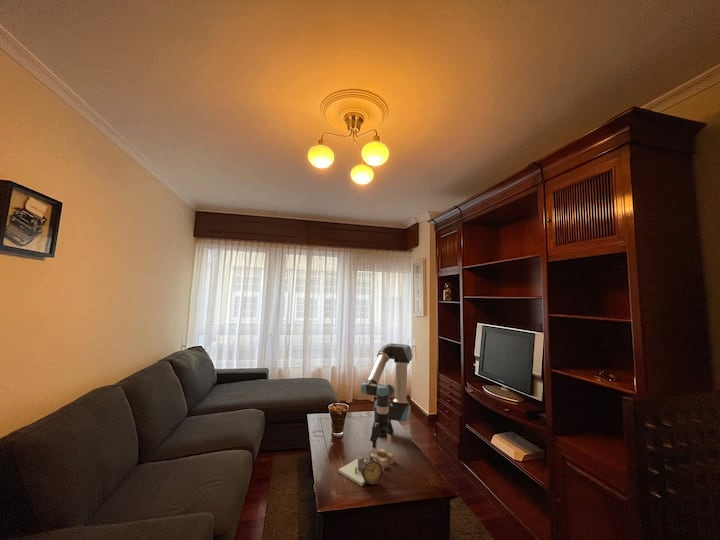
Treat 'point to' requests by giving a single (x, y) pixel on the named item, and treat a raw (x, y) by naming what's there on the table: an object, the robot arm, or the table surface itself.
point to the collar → (384, 457)
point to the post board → (354, 471)
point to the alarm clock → (371, 471)
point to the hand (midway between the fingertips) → (382, 449)
